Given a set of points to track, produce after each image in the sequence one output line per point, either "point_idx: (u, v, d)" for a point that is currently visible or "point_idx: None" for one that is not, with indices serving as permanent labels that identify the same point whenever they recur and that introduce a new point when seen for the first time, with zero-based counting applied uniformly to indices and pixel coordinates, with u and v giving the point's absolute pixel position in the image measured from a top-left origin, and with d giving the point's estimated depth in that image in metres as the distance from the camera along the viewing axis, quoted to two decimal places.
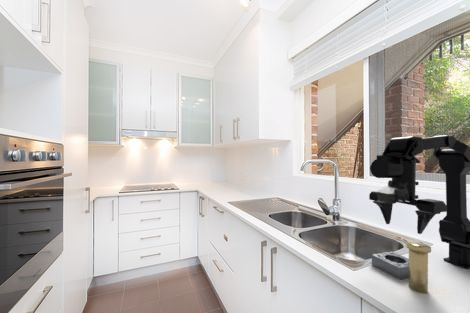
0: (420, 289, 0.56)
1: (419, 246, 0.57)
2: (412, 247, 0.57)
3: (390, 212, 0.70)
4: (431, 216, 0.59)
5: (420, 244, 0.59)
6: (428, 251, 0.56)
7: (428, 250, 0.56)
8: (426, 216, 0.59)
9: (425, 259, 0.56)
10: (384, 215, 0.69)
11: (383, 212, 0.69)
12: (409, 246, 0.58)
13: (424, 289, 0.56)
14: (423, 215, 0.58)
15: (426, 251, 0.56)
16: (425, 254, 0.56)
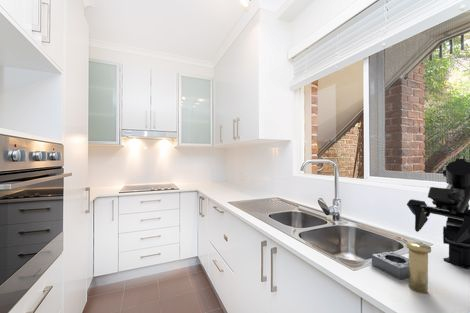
0: (420, 289, 0.56)
1: (419, 246, 0.57)
2: (412, 247, 0.57)
3: (422, 224, 0.67)
4: None
5: (420, 244, 0.59)
6: (428, 251, 0.56)
7: (428, 250, 0.56)
8: None
9: (425, 259, 0.56)
10: (417, 221, 0.66)
11: (417, 218, 0.67)
12: (409, 246, 0.58)
13: (424, 289, 0.56)
14: None
15: (426, 251, 0.56)
16: (425, 254, 0.56)
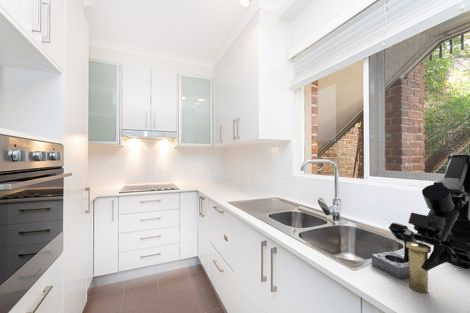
0: (420, 289, 0.56)
1: (419, 246, 0.57)
2: (412, 247, 0.57)
3: None
4: (445, 260, 0.56)
5: (420, 243, 0.59)
6: (428, 251, 0.56)
7: (428, 250, 0.56)
8: (440, 257, 0.56)
9: (425, 259, 0.56)
10: (406, 250, 0.61)
11: None
12: (408, 246, 0.58)
13: (424, 289, 0.56)
14: (441, 250, 0.55)
15: (426, 251, 0.56)
16: (425, 254, 0.56)
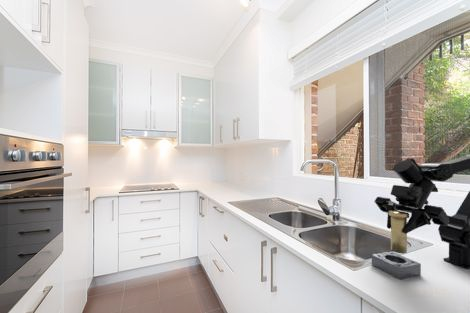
0: (400, 250, 0.65)
1: (399, 213, 0.66)
2: (393, 214, 0.66)
3: None
4: (421, 224, 0.64)
5: (401, 212, 0.67)
6: (407, 216, 0.64)
7: (407, 216, 0.64)
8: (417, 221, 0.64)
9: (404, 224, 0.65)
10: (389, 218, 0.69)
11: (389, 216, 0.70)
12: (390, 214, 0.67)
13: (403, 250, 0.65)
14: (417, 215, 0.63)
15: (405, 216, 0.64)
16: (404, 219, 0.65)
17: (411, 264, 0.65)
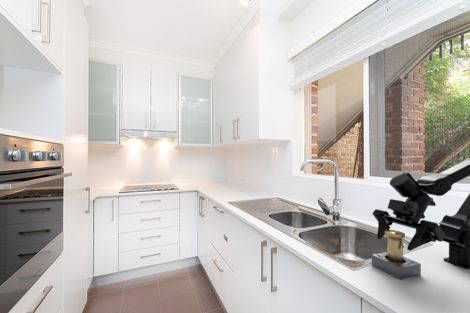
0: None
1: (395, 233, 0.67)
2: (389, 234, 0.67)
3: (384, 232, 0.73)
4: (425, 241, 0.63)
5: (397, 231, 0.69)
6: (402, 237, 0.66)
7: (402, 236, 0.66)
8: (421, 238, 0.64)
9: (400, 244, 0.66)
10: (379, 230, 0.73)
11: (380, 227, 0.73)
12: (386, 234, 0.68)
13: None
14: (422, 232, 0.62)
15: (400, 237, 0.66)
16: (400, 240, 0.66)
17: (411, 264, 0.65)
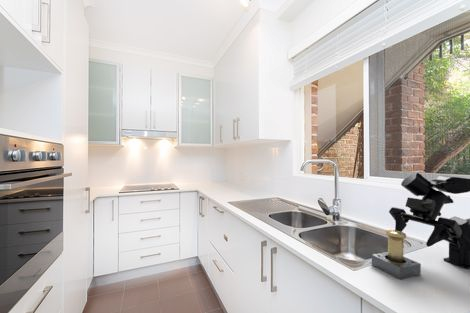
0: None
1: (396, 233, 0.67)
2: (390, 234, 0.67)
3: (402, 229, 0.76)
4: (443, 237, 0.66)
5: (398, 231, 0.69)
6: (403, 237, 0.66)
7: (403, 236, 0.66)
8: (440, 235, 0.67)
9: (401, 244, 0.66)
10: (397, 227, 0.76)
11: (397, 224, 0.76)
12: (387, 233, 0.68)
13: None
14: (440, 229, 0.65)
15: (401, 237, 0.66)
16: (401, 240, 0.66)
17: (411, 264, 0.65)
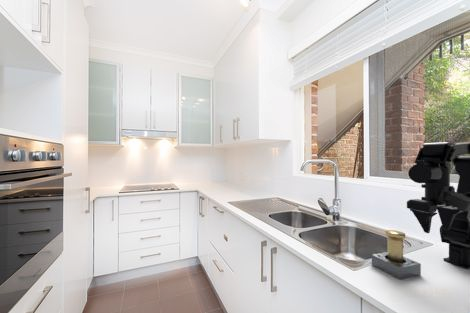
0: None
1: (395, 233, 0.67)
2: (389, 234, 0.67)
3: None
4: None
5: (397, 231, 0.69)
6: (403, 237, 0.66)
7: (403, 236, 0.66)
8: None
9: (400, 244, 0.66)
10: (430, 225, 0.64)
11: (430, 222, 0.64)
12: (387, 234, 0.68)
13: None
14: (458, 213, 0.67)
15: (401, 237, 0.65)
16: (400, 240, 0.66)
17: (411, 264, 0.65)
